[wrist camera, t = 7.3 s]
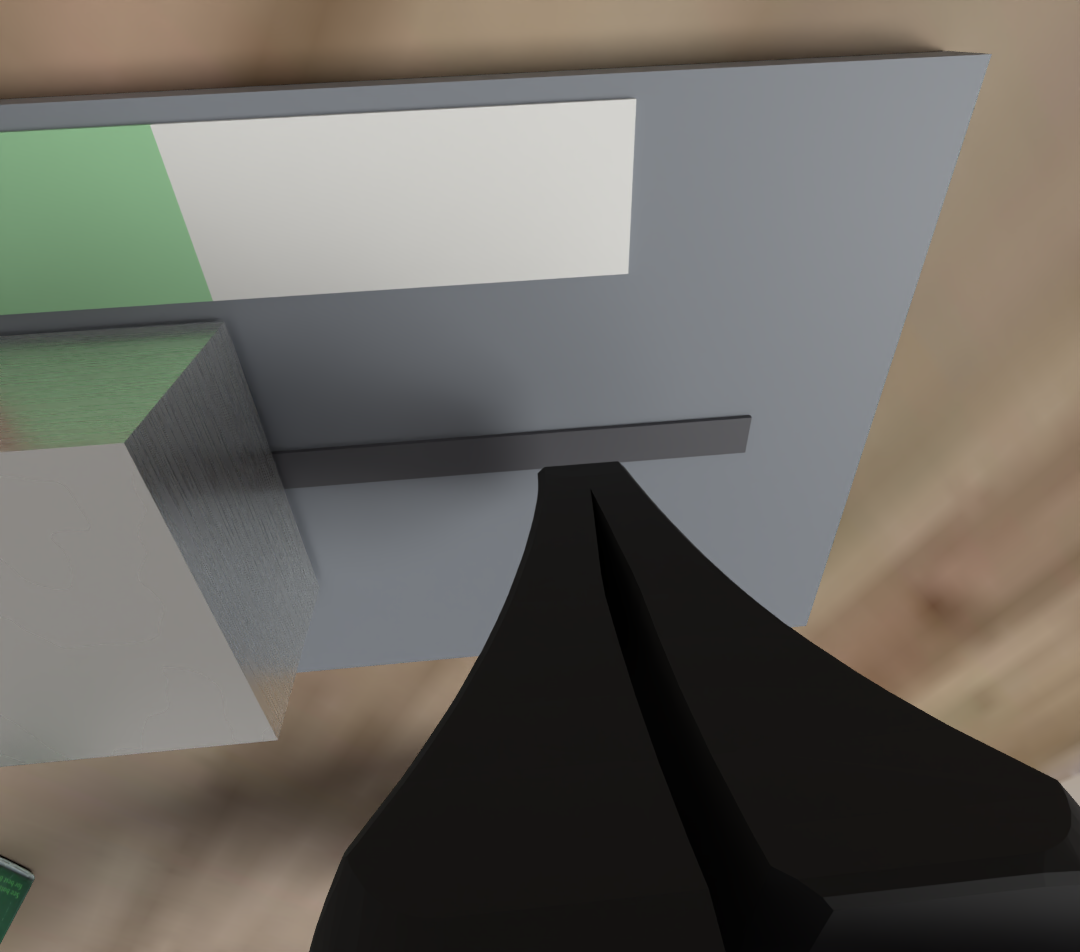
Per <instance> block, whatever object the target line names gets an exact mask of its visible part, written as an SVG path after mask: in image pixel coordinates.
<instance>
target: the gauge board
mask: <svg viewBox="0 0 1080 952" xmlns="http://www.w3.org/2000/svg"><path fill="white" fill-rule="evenodd" d="M990 57H991V54H983V53H968V52H954V51H940V52H920V53H901V54H881V55H861V56H842V57H822V58H802V59H783V60H763V61H743V62H724V63H704V64H684V65H665V66H645V67H625V68H606V69H586V70H566V71H547V72H527V73H507V74H488V75H468V76H448V77H429V78H409V79H389V80H369V81H350V82H330V83H310V84H291V85H271V86H251V87H232V88H212V89H192V90H173V91H153V92H133V93H114V94H94V95H74V96H55V97H35V98H15V99H0V336H9V335H24V334H39V333H54V332H69V331H84V330H99V329H114V328H129V327H143V326H158V325H173V324H188V323H203V322H218V321H225V322H226V325H227V328H228V331H229V334H230V336H231V339H232V342H233V345H234V348H235V351H236V353H237V356H238V359H239V362H240V365H241V368H242V370H243V373H244V376H245V379H246V382H247V384H248V387H249V390H250V393H251V396H252V399H253V401H254V404H255V407H256V410H257V413H258V416H259V418H260V421H261V424H262V427H263V430H264V433H265V435H266V438H267V441H268V444H269V447H270V449H271V452H272V455H273V458H274V461H275V464H276V466H277V469H278V472H279V475H280V478H281V481H282V483H283V486H284V489H285V492H286V495H287V497H288V500H289V503H290V506H291V509H292V512H293V514H294V517H295V520H296V523H297V526H298V529H299V531H300V534H301V537H302V540H303V543H304V546H305V548H306V551H307V554H308V557H309V560H310V562H311V565H312V568H313V571H314V574H315V577H316V579H317V582H318V585H319V592H318V595H317V599H316V603H315V606H314V610H313V614H312V617H311V621H310V625H309V628H308V632H307V636H306V639H305V643H304V646H303V650H302V654H301V657H300V661H299V665H298V668H297V672H296V673H298V672H308V671H319V670H330V669H341V668H352V667H363V666H374V665H385V664H395V663H406V662H417V661H428V660H439V659H450V658H461V657H472V656H479V655H480V653H481V651H482V649H483V647H484V645H485V643H486V641H487V639H488V637H489V635H490V633H491V631H492V629H493V627H494V625H495V623H496V621H497V619H498V617H499V614H500V612H501V610H502V608H503V605H504V603H505V601H506V598H507V596H508V594H509V591H510V588H511V586H512V583H513V580H514V578H515V575H516V572H517V570H518V567H519V564H520V562H521V559H522V556H523V553H524V550H525V546H526V543H527V539H528V536H529V532H530V529H531V525H532V522H533V517H534V512H535V507H536V502H537V495H538V474H537V473H538V472H539V471H540V470H541V469H543V468H544V467H550V466H563V465H575V464H588V463H601V462H614V461H618V462H620V463H621V464H622V465H623V466H624V467H625V468H626V470H627V471H628V472H629V473H630V475H631V476H632V477H633V478H634V479H635V481H636V482H637V483H638V484H639V486H640V487H641V488H642V489H643V490H644V491H645V493H646V494H647V495H648V496H649V497H650V498H651V500H652V501H653V502H654V503H655V504H656V505H657V506H658V508H659V509H660V510H661V511H662V512H663V513H664V514H665V515H666V516H667V517H668V519H669V520H670V521H671V522H672V523H673V524H674V525H675V526H676V527H677V528H678V529H679V530H680V531H681V532H682V533H683V534H684V535H685V536H686V537H687V538H688V539H689V540H690V541H691V542H692V543H693V545H694V546H695V547H697V548H698V549H699V550H700V551H701V552H702V553H703V554H704V555H705V556H706V557H707V558H708V559H709V560H710V561H711V562H712V563H713V564H714V565H715V566H717V567H718V568H719V569H720V570H721V571H722V572H723V573H724V574H725V575H726V576H727V577H729V578H730V579H731V580H732V581H733V582H734V583H735V584H737V585H738V586H739V587H740V588H741V589H742V590H743V591H745V592H746V593H747V594H748V595H749V596H751V597H752V598H753V599H754V600H755V601H757V602H758V603H759V604H760V605H762V606H763V607H764V608H766V609H767V610H768V611H769V612H771V613H772V614H773V615H775V616H776V617H777V618H779V619H780V620H781V621H782V622H784V623H785V624H786V625H788V626H789V627H798V626H806V624H807V621H808V618H809V615H810V612H811V609H812V606H813V603H814V600H815V596H816V593H817V590H818V587H819V584H820V581H821V578H822V575H823V572H824V569H825V566H826V563H827V559H828V556H829V553H830V550H831V547H832V544H833V541H834V538H835V535H836V532H837V529H838V526H839V523H840V519H841V516H842V513H843V510H844V507H845V504H846V501H847V498H848V495H849V492H850V489H851V486H852V482H853V479H854V476H855V473H856V470H857V467H858V464H859V461H860V458H861V455H862V452H863V449H864V445H865V442H866V439H867V436H868V433H869V430H870V427H871V424H872V421H873V418H874V415H875V412H876V409H877V405H878V402H879V399H880V396H881V393H882V390H883V387H884V384H885V381H886V378H887V375H888V372H889V368H890V365H891V362H892V359H893V356H894V353H895V350H896V347H897V344H898V341H899V338H900V335H901V331H902V328H903V325H904V322H905V319H906V316H907V313H908V310H909V307H910V304H911V301H912V298H913V295H914V291H915V288H916V285H917V282H918V279H919V276H920V273H921V270H922V267H923V264H924V261H925V258H926V254H927V251H928V248H929V245H930V242H931V239H932V236H933V233H934V230H935V227H936V224H937V221H938V217H939V214H940V211H941V208H942V205H943V202H944V199H945V196H946V193H947V190H948V187H949V184H950V181H951V177H952V174H953V171H954V168H955V165H956V162H957V159H958V156H959V153H960V150H961V147H962V144H963V140H964V137H965V134H966V131H967V128H968V125H969V122H970V119H971V116H972V113H973V110H974V107H975V103H976V100H977V97H978V94H979V91H980V88H981V85H982V82H983V79H984V76H985V73H986V70H987V67H988V63H989V60H990Z"/></svg>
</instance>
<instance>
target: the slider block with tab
mask: <svg viewBox="0 0 1080 952" xmlns="http://www.w3.org/2000/svg"><path fill="white" fill-rule="evenodd" d="M318 592H319V585H318V582H317V579H316V577H315V574H314V571H313V568H312V565H311V562H310V560H309V557H308V554H307V551H306V548H305V546H304V543H303V540H302V537H301V534H300V531H299V529H298V526H297V523H296V520H295V517H294V514H293V512H292V509H291V506H290V503H289V500H288V497H287V495H286V492H285V489H284V486H283V483H282V481H281V478H280V475H279V472H278V469H277V466H276V464H275V461H274V458H273V455H272V452H271V449H270V447H269V444H268V441H267V438H266V435H265V433H264V430H263V427H262V424H261V421H260V418H259V416H258V413H257V410H256V407H255V404H254V401H253V399H252V396H251V393H250V390H249V387H248V384H247V382H246V379H245V376H244V373H243V370H242V368H241V365H240V362H239V359H238V356H237V353H236V351H235V348H234V345H233V342H232V339H231V336H230V334H229V331H228V328H227V325H226V322H225V321H218V322H203V323H188V324H173V325H158V326H143V327H129V328H114V329H99V330H84V331H69V332H54V333H39V334H24V335H9V336H0V767H4V766H14V765H25V764H35V763H45V762H56V761H66V760H77V759H87V758H97V757H108V756H118V755H128V754H139V753H149V752H159V751H170V750H180V749H191V748H201V747H211V746H222V745H232V744H242V743H253V742H263V741H273V740H278V737H279V734H280V730H281V727H282V723H283V719H284V716H285V712H286V708H287V705H288V701H289V697H290V694H291V690H292V686H293V683H294V679H295V676H296V672H297V668H298V665H299V661H300V657H301V654H302V650H303V646H304V643H305V639H306V636H307V632H308V628H309V625H310V621H311V617H312V614H313V610H314V606H315V603H316V599H317V595H318Z"/></svg>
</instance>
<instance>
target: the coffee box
mask: <svg viewBox="0 0 1080 952" xmlns="http://www.w3.org/2000/svg"><path fill="white" fill-rule="evenodd" d="M34 878H35V877H34V875H33V874H32V873H31V872H30V871H28V870H27V869H25V868H23V867H20V866H18V865H17V864H15V863H13V862H10V861H9V860H6V859H4V858H2V857H0V943H1V942H2V940H3V938H4V936H5V934H6V932H7V930H8V929H9V927H10V925H11V923H12V921H13V919H14V917H15V915H16V913H17V911H18V910H19V908H20V906H21V904H22V902H23V900H24V898H25V897H26V895H27V893H28V891H29V889H30V887H31V885H32V883H33V881H34Z"/></svg>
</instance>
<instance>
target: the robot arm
mask: <svg viewBox="0 0 1080 952" xmlns="http://www.w3.org/2000/svg"><path fill="white" fill-rule="evenodd" d="M537 474H538V495H537V502H536V507H535V512H534V517H533V522H532V525H531V529H530V532H529V536H528V539H527V543H526V546H525V550H524V553H523V556H522V559H521V562H520V564H519V567H518V570H517V572H516V575H515V578H514V580H513V583H512V586H511V588H510V591H509V594H508V596H507V598H506V601H505V603H504V605H503V608H502V610H501V612H500V614H499V617H498V619H497V621H496V623H495V625H494V627H493V629H492V631H491V633H490V635H489V637H488V639H487V641H486V643H485V645H484V647H483V649H482V651H481V653H480V655H479V657H478V658H477V660H476V662H475V664H474V666H473V667H472V669H471V671H470V673H469V675H468V677H467V678H466V680H465V682H464V684H463V685H462V687H461V689H460V691H459V692H458V694H457V696H456V697H455V699H454V701H453V702H452V704H451V705H450V707H449V709H448V710H447V712H446V713H445V715H444V716H443V718H442V719H441V721H440V722H439V724H438V725H437V727H436V728H435V730H434V731H433V733H432V734H431V736H430V737H429V739H428V740H427V742H426V743H425V745H424V746H423V748H422V749H421V751H420V752H419V754H418V755H417V757H416V758H415V760H414V761H413V763H412V764H411V766H410V767H409V768H408V770H407V771H406V773H405V774H404V775H403V777H402V778H401V780H400V781H399V782H398V784H397V785H396V786H395V787H394V789H393V790H392V791H391V793H390V794H389V795H388V797H387V798H386V799H385V800H384V802H383V803H382V804H381V806H380V807H379V808H378V810H377V811H376V812H375V813H374V815H373V816H372V817H371V819H370V820H369V821H368V823H367V824H366V825H365V826H364V828H363V829H362V830H361V832H360V833H359V834H358V836H357V837H356V838H355V839H354V841H353V842H352V843H351V845H350V846H349V847H348V849H347V850H346V851H345V853H344V855H343V857H342V860H341V862H340V864H339V867H338V869H337V872H336V874H335V877H334V879H333V882H332V885H331V887H330V890H329V892H328V895H327V897H326V900H325V903H324V906H323V909H322V912H321V915H320V917H319V920H318V923H317V926H316V929H315V933H314V936H313V940H312V943H311V947H310V951H309V952H1080V806H1079V805H1078V804H1077V803H1076V802H1075V800H1074V799H1073V798H1072V797H1071V796H1070V794H1069V793H1068V792H1067V791H1066V790H1065V789H1064V788H1063V786H1062V785H1061V784H1060V783H1059V782H1058V780H1056V779H1054V778H1052V777H1050V776H1048V775H1046V774H1044V773H1042V772H1040V771H1038V770H1036V769H1034V768H1032V767H1030V766H1028V765H1026V764H1024V763H1022V762H1020V761H1018V760H1016V759H1014V758H1012V757H1010V756H1008V755H1006V754H1004V753H1002V752H1000V751H998V750H996V749H994V748H992V747H990V746H988V745H986V744H984V743H982V742H980V741H978V740H976V739H974V738H972V737H970V736H968V735H966V734H964V733H962V732H960V731H958V730H956V729H954V728H952V727H951V726H949V725H947V724H945V723H943V722H941V721H940V720H938V719H936V718H934V717H933V716H931V715H929V714H927V713H925V712H924V711H922V710H920V709H918V708H917V707H915V706H913V705H911V704H910V703H908V702H906V701H904V700H903V699H901V698H899V697H897V696H896V695H894V694H892V693H890V692H889V691H887V690H885V689H884V688H882V687H880V686H879V685H877V684H875V683H874V682H872V681H871V680H869V679H867V678H866V677H864V676H862V675H861V674H859V673H857V672H856V671H854V670H853V669H851V668H850V667H848V666H847V665H845V664H844V663H842V662H841V661H839V660H838V659H836V658H835V657H833V656H832V655H830V654H829V653H827V652H826V651H824V650H823V649H821V648H820V647H818V646H816V645H815V644H813V643H812V642H810V641H809V640H807V639H806V638H805V637H803V636H802V635H800V634H799V633H798V632H796V631H795V630H793V629H792V628H791V627H789V626H788V625H786V624H785V623H784V622H782V621H781V620H780V619H779V618H777V617H776V616H775V615H773V614H772V613H771V612H769V611H768V610H767V609H766V608H764V607H763V606H762V605H760V604H759V603H758V602H757V601H755V600H754V599H753V598H752V597H751V596H749V595H748V594H747V593H746V592H745V591H743V590H742V589H741V588H740V587H739V586H738V585H737V584H735V583H734V582H733V581H732V580H731V579H730V578H729V577H727V576H726V575H725V574H724V573H723V572H722V571H721V570H720V569H719V568H718V567H717V566H715V565H714V564H713V563H712V562H711V561H710V560H709V559H708V558H707V557H706V556H705V555H704V554H703V553H702V552H701V551H700V550H699V549H698V548H697V547H695V546H694V545H693V543H692V542H691V541H690V540H689V539H688V538H687V537H686V536H685V535H684V534H683V533H682V532H681V531H680V530H679V529H678V528H677V527H676V526H675V525H674V524H673V523H672V522H671V521H670V520H669V519H668V517H667V516H666V515H665V514H664V513H663V512H662V511H661V510H660V509H659V508H658V506H657V505H656V504H655V503H654V502H653V501H652V500H651V498H650V497H649V496H648V495H647V494H646V493H645V491H644V490H643V489H642V488H641V487H640V486H639V484H638V483H637V482H636V481H635V479H634V478H633V477H632V476H631V475H630V473H629V472H628V471H627V470H626V468H625V467H624V466H623V465H622V464H621V463H620V462H618V461H614V462H601V463H588V464H575V465H563V466H550V467H544V468H543V469H541V470H540V471H539V472H538V473H537Z"/></svg>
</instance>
